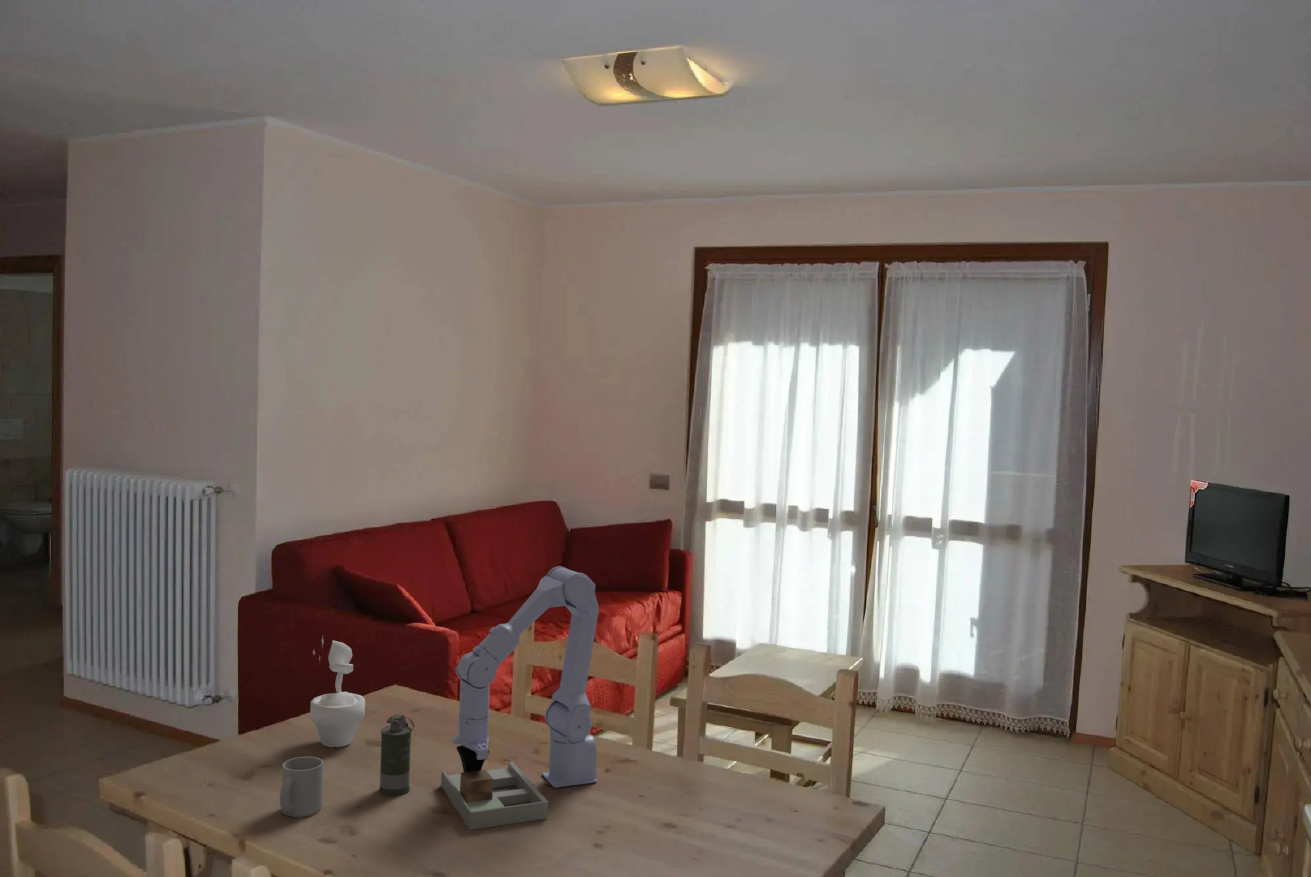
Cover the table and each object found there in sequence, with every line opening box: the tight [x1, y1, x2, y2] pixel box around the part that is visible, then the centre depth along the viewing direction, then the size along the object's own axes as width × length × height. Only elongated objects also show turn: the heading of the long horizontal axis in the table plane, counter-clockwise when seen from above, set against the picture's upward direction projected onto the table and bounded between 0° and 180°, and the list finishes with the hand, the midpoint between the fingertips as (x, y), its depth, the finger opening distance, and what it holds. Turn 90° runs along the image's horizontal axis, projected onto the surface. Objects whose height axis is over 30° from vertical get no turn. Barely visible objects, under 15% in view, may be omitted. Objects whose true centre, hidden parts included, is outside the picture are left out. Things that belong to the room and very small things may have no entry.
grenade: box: [378, 713, 415, 797], centre depth 203 cm, size 6×6×15 cm
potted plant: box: [309, 636, 366, 748], centre depth 227 cm, size 13×12×25 cm
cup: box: [279, 756, 324, 818], centre depth 191 cm, size 7×10×9 cm
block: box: [460, 769, 493, 803], centre depth 197 cm, size 5×5×4 cm
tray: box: [440, 761, 549, 831], centre depth 200 cm, size 15×22×3 cm
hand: (471, 783), depth 201 cm, fingers closed
